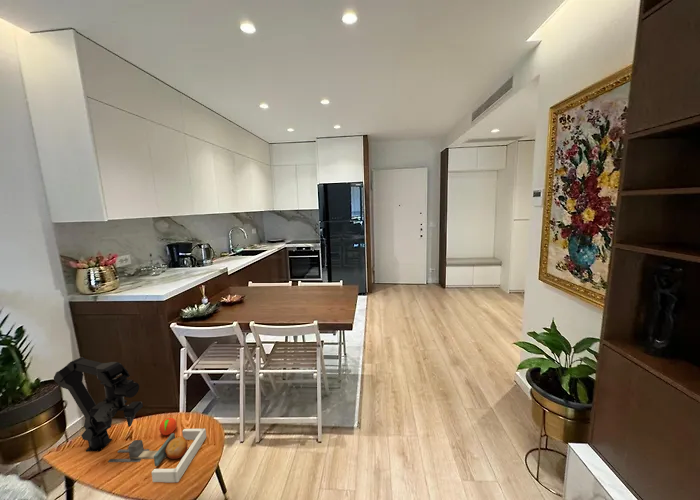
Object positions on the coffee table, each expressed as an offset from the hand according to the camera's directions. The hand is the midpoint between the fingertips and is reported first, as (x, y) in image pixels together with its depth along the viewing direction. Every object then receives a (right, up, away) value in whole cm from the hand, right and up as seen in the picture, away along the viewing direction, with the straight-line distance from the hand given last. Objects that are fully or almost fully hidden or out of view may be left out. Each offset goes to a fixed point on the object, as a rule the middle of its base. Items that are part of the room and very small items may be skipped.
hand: (119, 426), depth 125 cm
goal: (+29, -12, -2) cm, 31 cm away
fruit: (+26, -12, -1) cm, 28 cm away
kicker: (+14, -12, -1) cm, 18 cm away
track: (+5, -12, -1) cm, 13 cm away
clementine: (+14, -10, +11) cm, 21 cm away
